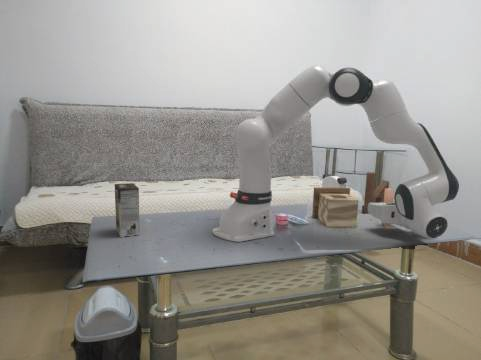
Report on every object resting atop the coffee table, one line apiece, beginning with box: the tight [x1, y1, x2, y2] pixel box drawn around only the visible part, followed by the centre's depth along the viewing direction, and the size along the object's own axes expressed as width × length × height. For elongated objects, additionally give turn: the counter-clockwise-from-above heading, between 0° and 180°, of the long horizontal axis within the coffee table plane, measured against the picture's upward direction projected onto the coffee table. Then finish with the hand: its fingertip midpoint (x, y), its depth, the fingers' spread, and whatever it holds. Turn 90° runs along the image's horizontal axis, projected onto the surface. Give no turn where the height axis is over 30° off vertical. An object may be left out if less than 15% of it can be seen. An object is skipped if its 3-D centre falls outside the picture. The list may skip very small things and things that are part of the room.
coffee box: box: [114, 183, 140, 238], centre depth 121 cm, size 9×6×16 cm
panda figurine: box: [321, 173, 348, 188], centre depth 163 cm, size 12×11×15 cm
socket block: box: [317, 193, 359, 228], centre depth 137 cm, size 11×11×10 cm
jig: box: [311, 187, 351, 219], centre depth 134 cm, size 23×16×13 cm
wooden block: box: [361, 171, 390, 215], centre depth 157 cm, size 4×11×18 cm, turn 114°
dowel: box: [381, 187, 395, 227], centre depth 135 cm, size 3×3×14 cm
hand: (386, 204), depth 136 cm, fingers closed on dowel, 3 cm apart
